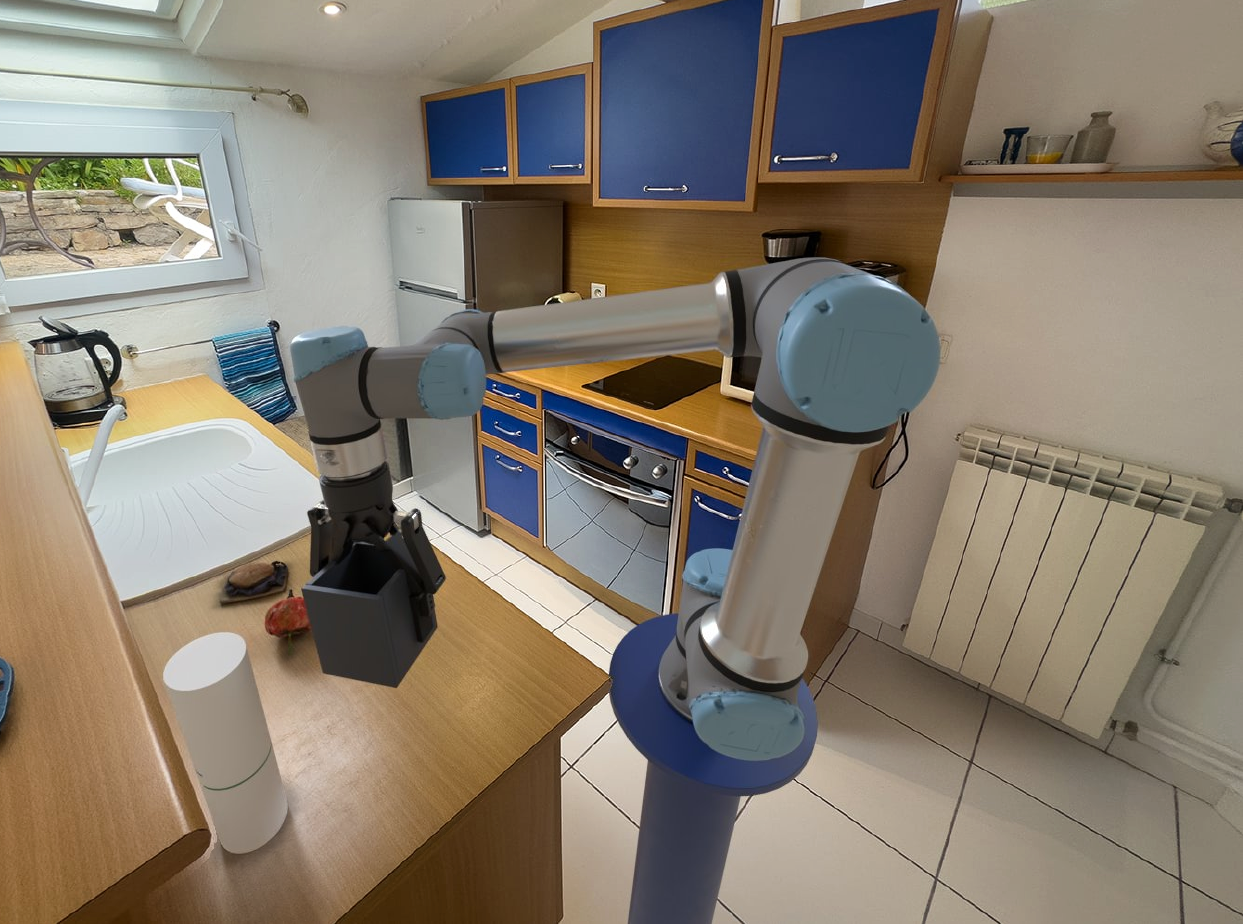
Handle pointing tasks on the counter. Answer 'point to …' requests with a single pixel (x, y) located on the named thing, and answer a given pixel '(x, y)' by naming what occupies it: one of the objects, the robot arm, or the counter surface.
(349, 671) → the dark grey box
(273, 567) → the bread roll
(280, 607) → the pomegranate
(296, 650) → the counter surface
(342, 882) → the counter surface
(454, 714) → the counter surface
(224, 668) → the cylindrical container
